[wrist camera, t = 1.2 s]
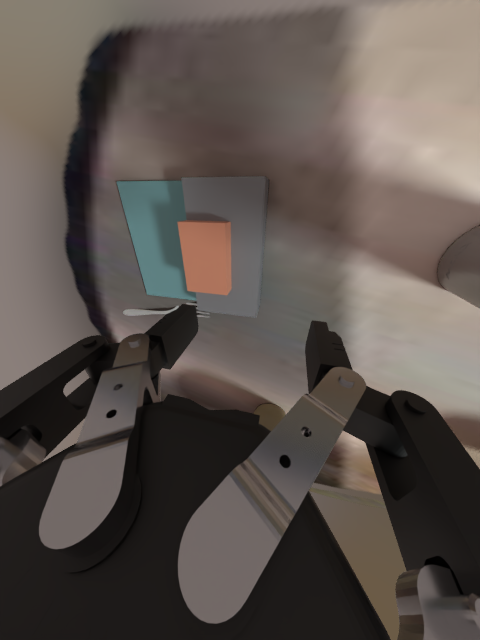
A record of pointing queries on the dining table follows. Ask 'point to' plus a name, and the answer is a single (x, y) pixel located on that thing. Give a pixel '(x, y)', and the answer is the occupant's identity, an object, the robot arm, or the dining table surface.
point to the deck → (233, 235)
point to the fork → (144, 312)
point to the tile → (206, 255)
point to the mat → (157, 234)
